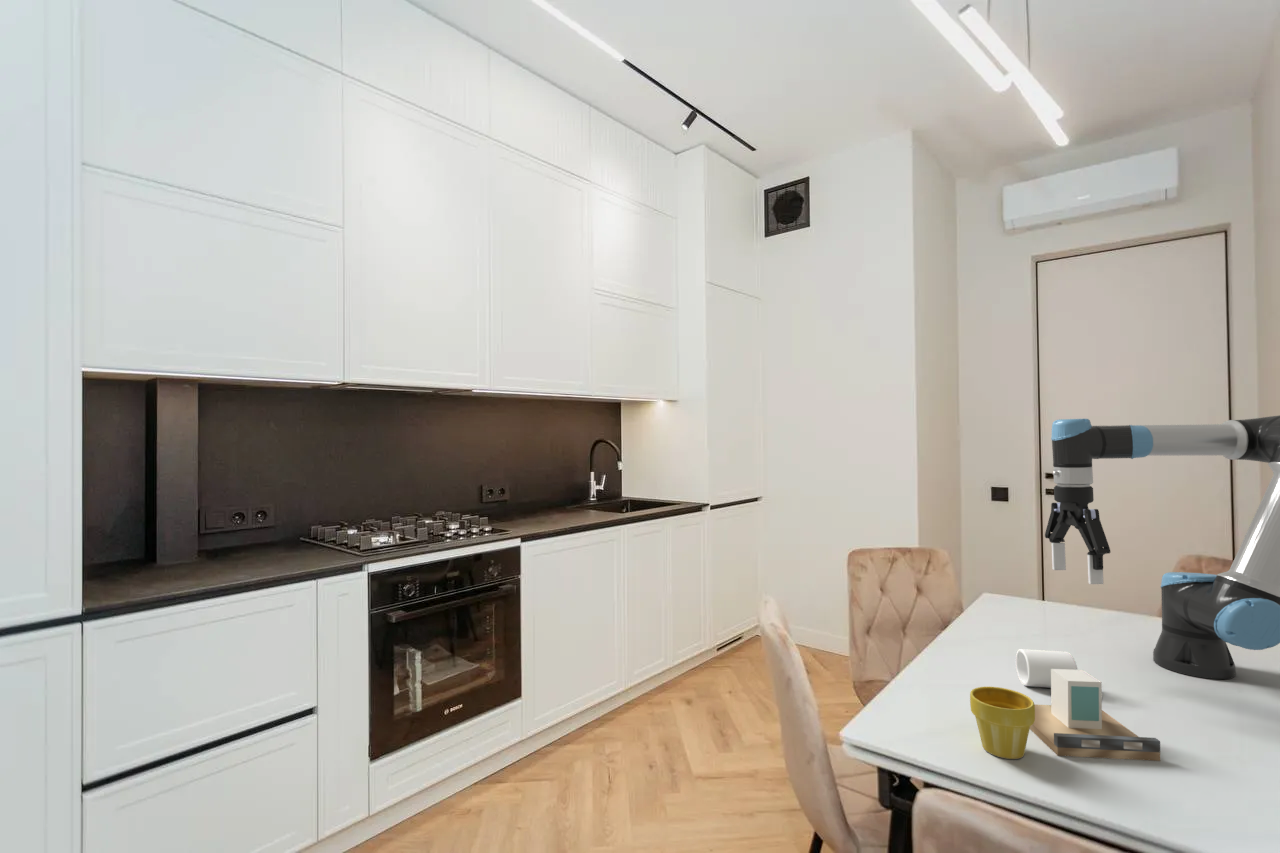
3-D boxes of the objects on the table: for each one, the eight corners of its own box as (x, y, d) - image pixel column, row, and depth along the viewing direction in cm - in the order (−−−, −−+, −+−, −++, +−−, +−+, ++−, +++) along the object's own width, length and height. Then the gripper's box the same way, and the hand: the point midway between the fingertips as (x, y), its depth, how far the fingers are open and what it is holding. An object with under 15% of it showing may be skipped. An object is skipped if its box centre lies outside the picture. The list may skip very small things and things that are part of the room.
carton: (1050, 713, 126) (1050, 668, 126) (1082, 714, 125) (1082, 669, 125) (1068, 728, 120) (1068, 681, 120) (1102, 729, 119) (1102, 682, 119)
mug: (1078, 695, 138) (1078, 659, 138) (1029, 691, 140) (1028, 656, 140) (1054, 674, 150) (1054, 640, 150) (1008, 671, 152) (1008, 638, 152)
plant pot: (958, 737, 119) (958, 686, 119) (1009, 735, 120) (1009, 684, 120) (993, 766, 109) (993, 710, 109) (1049, 763, 110) (1048, 708, 110)
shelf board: (1098, 714, 128) (1098, 697, 128) (1160, 761, 110) (1160, 741, 110) (1010, 710, 130) (1010, 693, 130) (1058, 756, 112) (1057, 736, 112)
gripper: (1026, 481, 158) (1030, 565, 158) (1091, 491, 133) (1094, 590, 133) (1057, 480, 157) (1061, 564, 157) (1128, 489, 132) (1132, 590, 132)
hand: (1076, 576), depth 145 cm, fingers open, 13 cm apart
